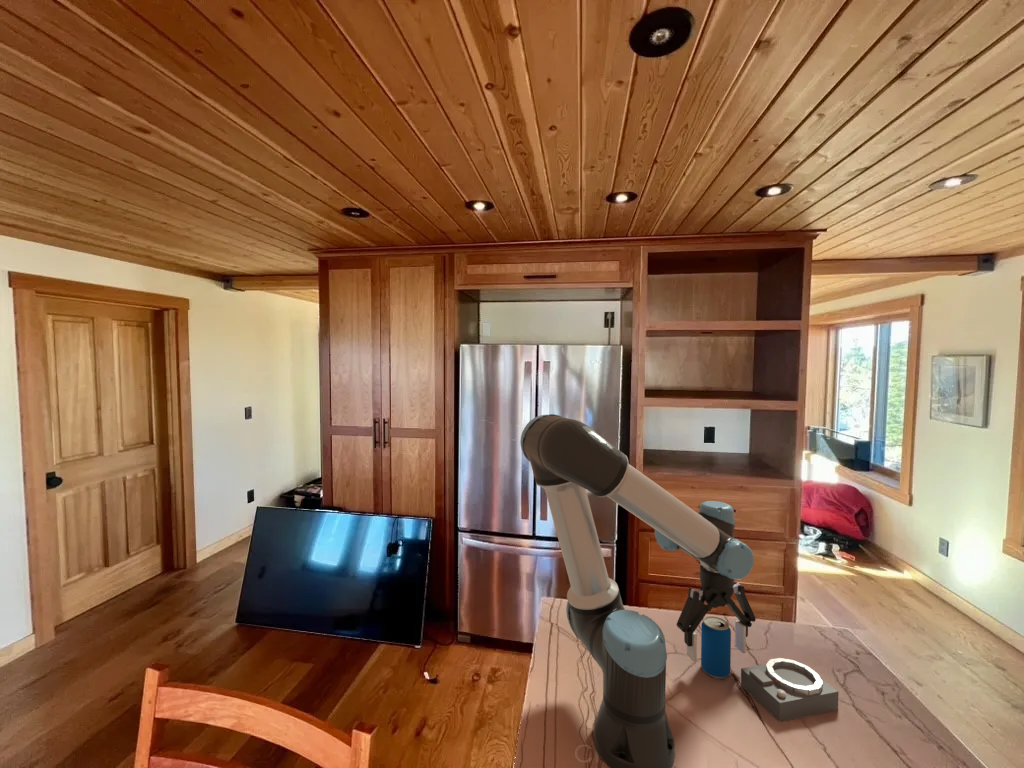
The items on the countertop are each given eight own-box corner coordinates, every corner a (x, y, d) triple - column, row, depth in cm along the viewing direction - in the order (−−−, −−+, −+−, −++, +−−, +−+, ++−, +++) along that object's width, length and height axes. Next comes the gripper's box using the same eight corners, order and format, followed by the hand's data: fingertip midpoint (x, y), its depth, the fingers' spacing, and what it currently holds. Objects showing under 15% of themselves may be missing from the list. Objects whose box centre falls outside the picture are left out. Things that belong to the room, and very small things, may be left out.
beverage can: (733, 682, 103) (734, 631, 103) (704, 678, 104) (704, 628, 104) (726, 664, 109) (726, 616, 109) (698, 661, 110) (698, 614, 110)
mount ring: (793, 698, 92) (794, 693, 92) (756, 666, 102) (756, 661, 102) (834, 691, 94) (834, 685, 94) (793, 660, 105) (793, 655, 105)
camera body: (779, 721, 91) (780, 699, 91) (740, 685, 102) (741, 664, 102) (838, 709, 94) (838, 687, 94) (794, 675, 105) (794, 656, 105)
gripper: (680, 579, 100) (680, 671, 100) (772, 568, 105) (772, 655, 106) (661, 565, 107) (661, 651, 107) (749, 555, 113) (748, 637, 113)
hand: (716, 653), depth 107 cm, fingers open, 13 cm apart
